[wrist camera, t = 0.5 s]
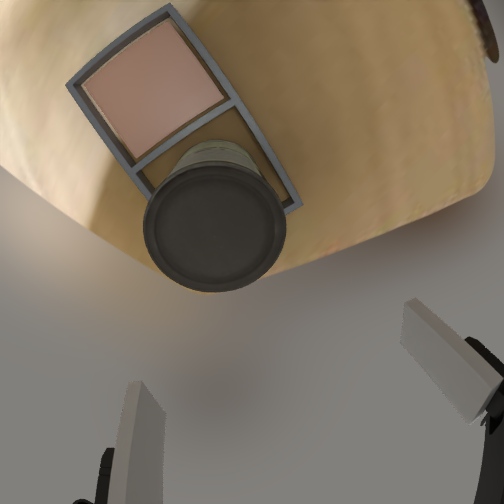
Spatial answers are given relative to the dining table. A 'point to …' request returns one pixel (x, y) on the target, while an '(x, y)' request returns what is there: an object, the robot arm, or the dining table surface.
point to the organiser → (158, 96)
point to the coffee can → (214, 220)
